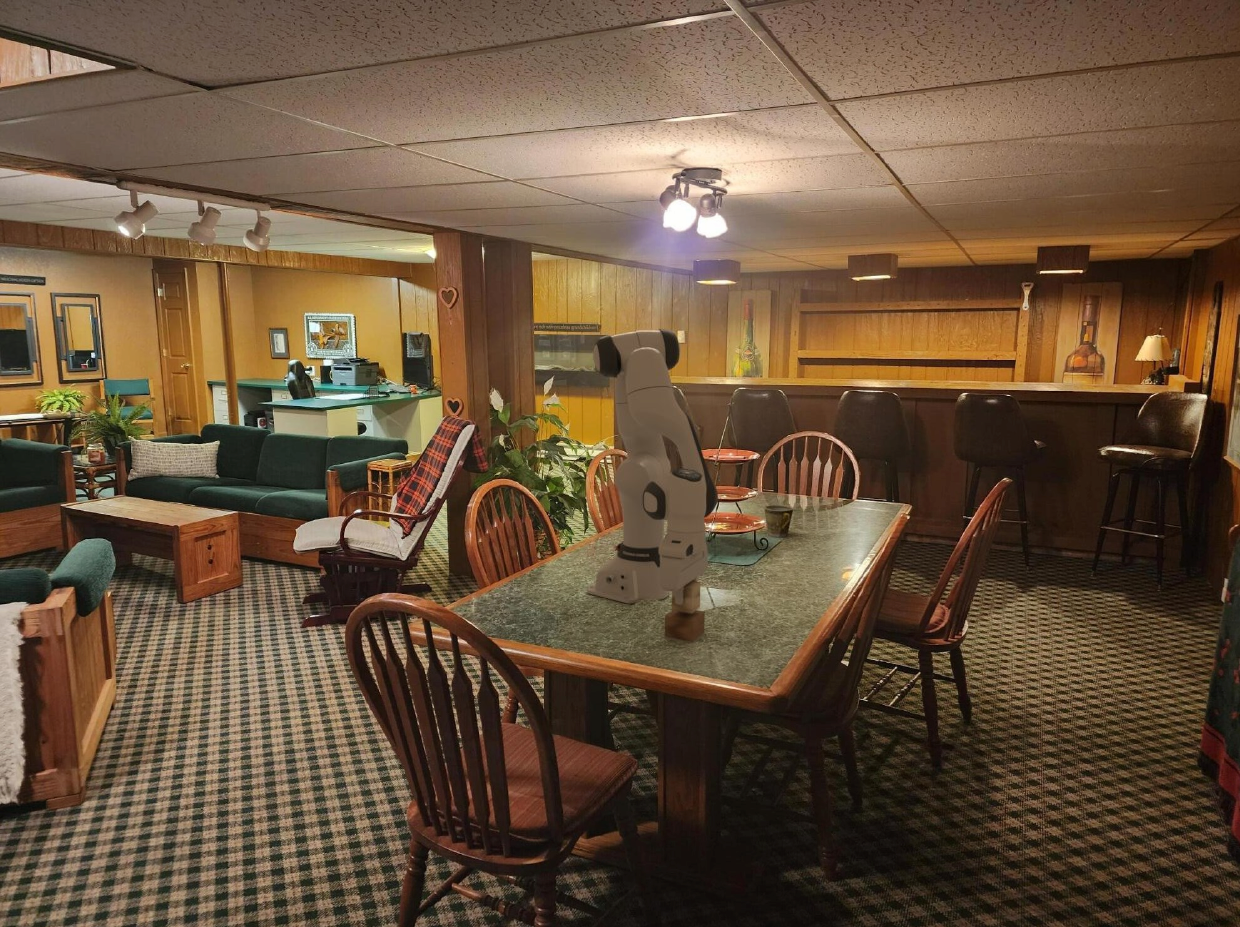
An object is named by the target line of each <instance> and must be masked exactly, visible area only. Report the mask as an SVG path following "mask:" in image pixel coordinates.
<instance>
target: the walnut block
mask: <svg viewBox="0 0 1240 927" xmlns="http://www.w3.org/2000/svg"><path fill="white" fill-rule="evenodd" d="M705 613H706V611H703V610H699V609H697V610H696V611H694V612H693V613H686V612H680V611H674V610H672V609H671V611H670V612H668V613H667V614H666V615H664V635H665V637H669V638H674V639H680V640H685V641H690V642H694V641H695V640H696V639H697V638H698V637H699V636H700V635H702V634H703V633H704V631H705V618H706V617H705V615H706V614H705ZM674 639H673V640H674ZM685 641H684V642H685ZM690 642H689V643H690Z"/></svg>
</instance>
